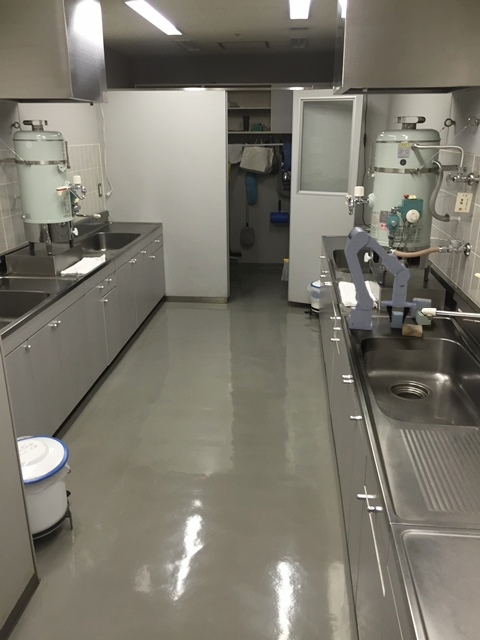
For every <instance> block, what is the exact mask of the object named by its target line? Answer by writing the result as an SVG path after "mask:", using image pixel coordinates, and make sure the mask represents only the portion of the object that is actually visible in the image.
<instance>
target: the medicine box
mask: <svg viewBox="0 0 480 640" xmlns="http://www.w3.org/2000/svg"><path fill="white" fill-rule="evenodd" d="M411 303H416V309H413V308H411V313H410V314H411V315H410V318H411V319H416V316H417V311H421V309H422V308H431V307H432V299H428V298H420V297H414V298H413V299H412V302H411Z"/></svg>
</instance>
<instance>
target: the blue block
mask: <svg viewBox="0 0 480 640" xmlns="http://www.w3.org/2000/svg"><path fill="white" fill-rule="evenodd" d="M402 320H403V311H396V310H394V311H393V310H392V322H391V323H390V328H395V329H402V325H403V324H402Z"/></svg>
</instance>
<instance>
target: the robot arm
mask: <svg viewBox="0 0 480 640" xmlns="http://www.w3.org/2000/svg"><path fill="white" fill-rule="evenodd" d="M363 247H366V248H371V249H372V250H373V251H374V252H375V253H376V254H377V255H378V256H379V257H380V258H381V264H382V265H383V266H384V268H385V267H386V269H387V270H388V271H389V272H390V273H391V274H392V275H393V276H394V277H393V284H392V285H393V288H392V299H391V300H381V302H380V304H381V305H380V306H381V307H383V308H384V307H386V311H387V313H388V317H389V323H390V324H391V322H392V311H393V308H403V311H402V312H403V320H402V325H403V324H405V320H406V319H407V318H406V317H407V316H408V314H409V313H410V311H411V309H412V308H413V309H416V303H412V302H408V301H407V292H408V291H407V290H408V281H409V279H410V278H411V272H410V270H409V269H408V268H407V267H405V266H406V265H405V264H404V263H403V262H401V261H400V260H399V259H398V255H397V254H394V253H388V252H387V251H386V250H385V249H384V247H382V245H381V244H380V243H379V242H378V241H377V240H376V238H375V237H373V236H372V235H371V234H370V233H368V232H367V231H366V230H364V229H363V228H362V227H360V226H355V227H353V228H351V230H350V231H349V233H348V234H347V237H346V243H345V246H344V250H343V251H344V252H343V253H344V256H345V259H346V261H347V266H348V269H349V272H350V275H351V279H352V282H353V285H354V288H355V289H354V290H355V291H354V292H355V298H354V299H355V301H356V305H355V306H351V307H350V312H349V313H350V314H349V320H348V321H349V327H348V328H349V329H351V330H352V329H354V330H365V331H372V328H373V322H372V317H373V307H374V305H375V301H374V299H373V297H371V295H370V292H369V290H368V288H367V285H366V281H365V277H364V274H363V271H362V268H361V267H362V266H361V264H360V261H359V257H358V253H359V251H360V250H361V249H362V248H363Z"/></svg>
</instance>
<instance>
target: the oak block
mask: <svg viewBox="0 0 480 640" xmlns="http://www.w3.org/2000/svg"><path fill="white" fill-rule="evenodd" d="M401 335H402V336H408V337H419V338H420V337H421V338H422V337H423V326H422V325H418V324H407V323H404V324H402V328H401Z"/></svg>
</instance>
